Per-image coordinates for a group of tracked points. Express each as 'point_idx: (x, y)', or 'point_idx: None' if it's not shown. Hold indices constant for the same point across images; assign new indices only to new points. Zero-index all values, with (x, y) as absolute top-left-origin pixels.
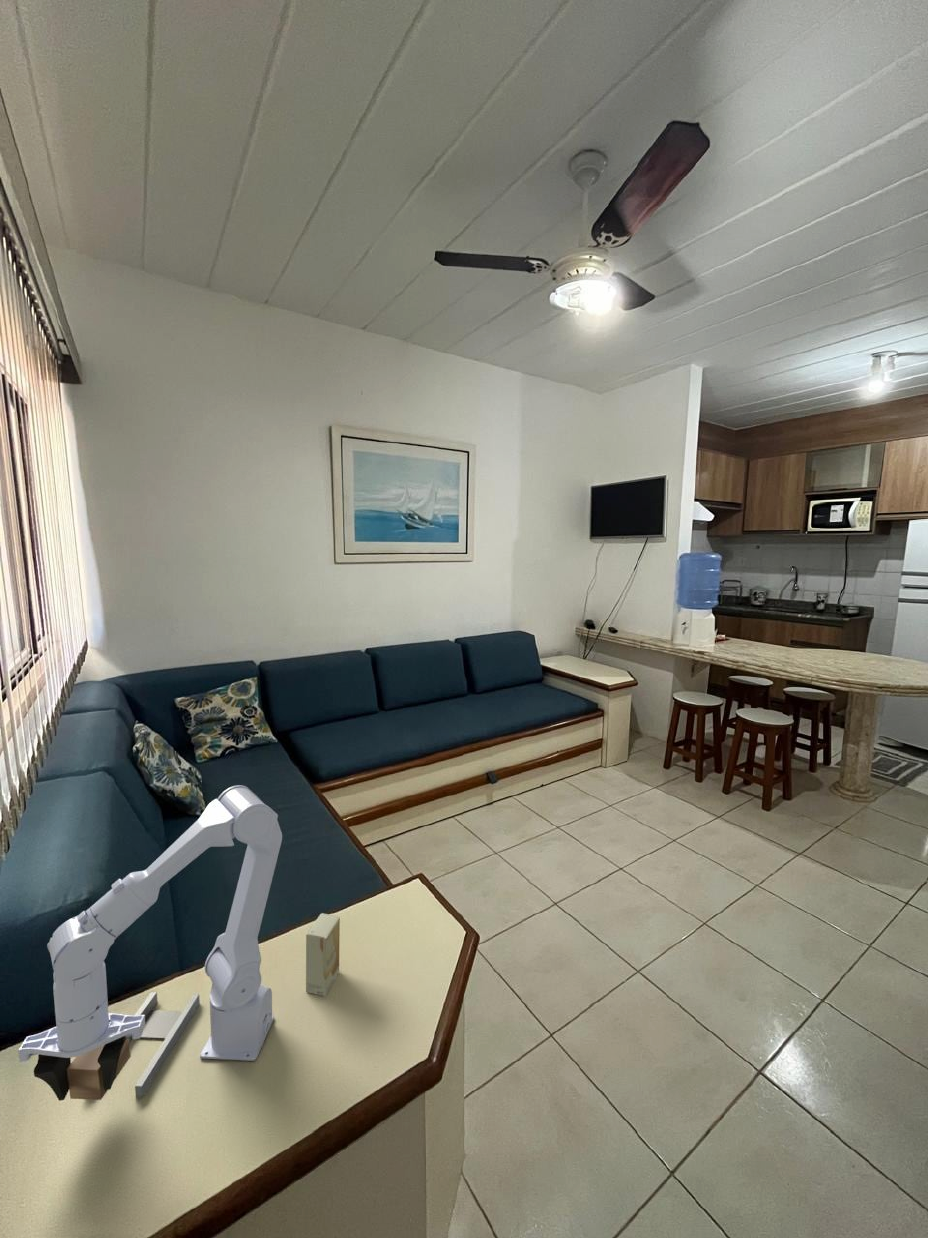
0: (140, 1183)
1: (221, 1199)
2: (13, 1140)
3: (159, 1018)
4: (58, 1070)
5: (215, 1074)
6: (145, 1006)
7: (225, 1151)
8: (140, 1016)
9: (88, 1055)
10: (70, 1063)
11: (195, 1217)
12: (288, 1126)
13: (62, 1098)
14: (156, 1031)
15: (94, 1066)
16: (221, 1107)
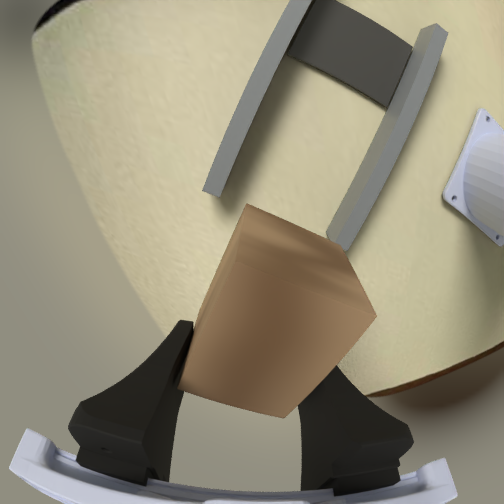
0: (339, 362)
1: (413, 385)
2: (108, 237)
3: (349, 28)
4: (170, 448)
5: (454, 241)
6: None
7: (432, 350)
8: (445, 501)
9: (235, 376)
10: (175, 361)
11: (389, 393)
12: (484, 338)
13: None
14: (350, 66)
15: (271, 410)
16: (447, 300)
